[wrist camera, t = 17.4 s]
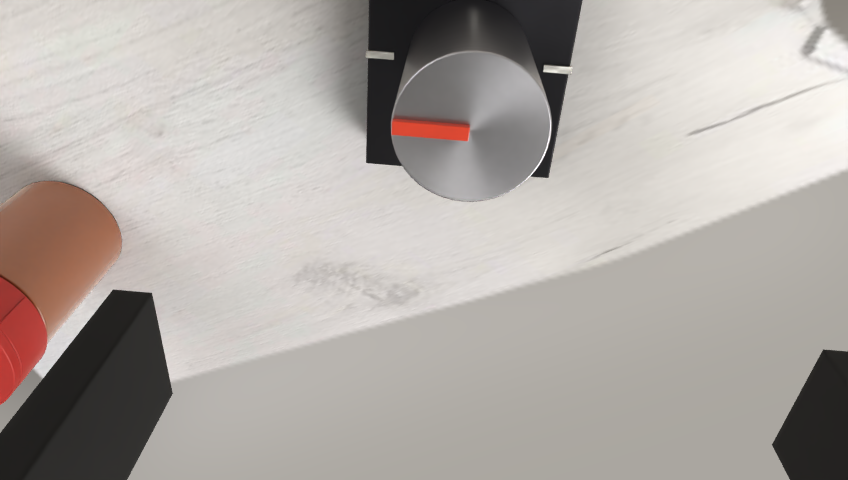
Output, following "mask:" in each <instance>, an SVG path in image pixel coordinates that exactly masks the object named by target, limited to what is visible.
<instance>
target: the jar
mask: <svg viewBox="0 0 848 480" xmlns="http://www.w3.org/2000/svg"><path fill="white" fill-rule="evenodd" d="M121 247H122V239H121V233H120V230H119V227H118V225H117V222H116V221H115V219H114V217H113V216H112V214H111V213H110V212H109V210H108V209H107V208H106V207H105V206H104V205H103V204H102V203H101V202H100V201H98V200H97V199H96V198H95V197H93V196H92V195H91V194H89V193H87V192H86V191H84V190H82V189H80V188H78V187H75V186H72V185H70V184H66V183H62V182H56V181H41V182H35V183H32V184H29V185H27V186H25V187H23V188H22V189H20V190H19V191H18V192H17V193H15V194H14V195H13V196H11V197H10V198H9V199H8V200H6V201H5V202H4V203H2V204H1V205H0V277H1V278H3V279H4V280H6V281H7V282H9V283H10V284H12V285H13V286H14V287H16V288H17V289H18V290H19V291H20V292H22V293H23V294H24V295H25V296H26V297H27V298H28V299H29V300H30V302H31V303H32V304H33V305H34V306H35V308H36V309H37V311H38V312H39V314H40V316H41V317H42V319H43V322H44V324H45V327H46V331H47V344H48V342H49V341H50V340H51V339H52V338H53V336H54V335H55V334H56V333H57V332H58V330H59V329H60V328H61V327H62V326H63V324H64V323H65V322H66V321H67V320H68V318H69V317H70V316H71V315H72V314H73V312H74V311H75V310H76V309H77V308H78V306H79V305H80V304H81V303H82V302H83V300H84V299H85V298H86V297H87V296H88V294H89V293H90V292H91V291H92V290H93V288H94V287H95V286H96V285H97V284H98V282H99V281H100V280H101V279H102V278H103V276H104V275H105V274H106V273H107V272H108V270H109V269H110V268H111V267H112V266H113V264H114V263H115V262H116V261H117V259H118V257H119V255H120V252H121Z"/></svg>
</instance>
